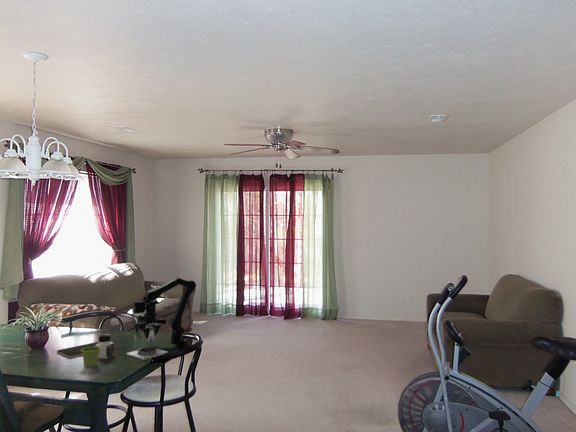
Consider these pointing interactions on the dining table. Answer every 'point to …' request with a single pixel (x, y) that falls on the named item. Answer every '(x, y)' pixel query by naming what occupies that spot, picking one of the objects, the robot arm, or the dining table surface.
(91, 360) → the plant pot
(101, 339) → the medicine bottle
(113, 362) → the dining table surface
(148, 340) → the duct coupling
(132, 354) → the plate
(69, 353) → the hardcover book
